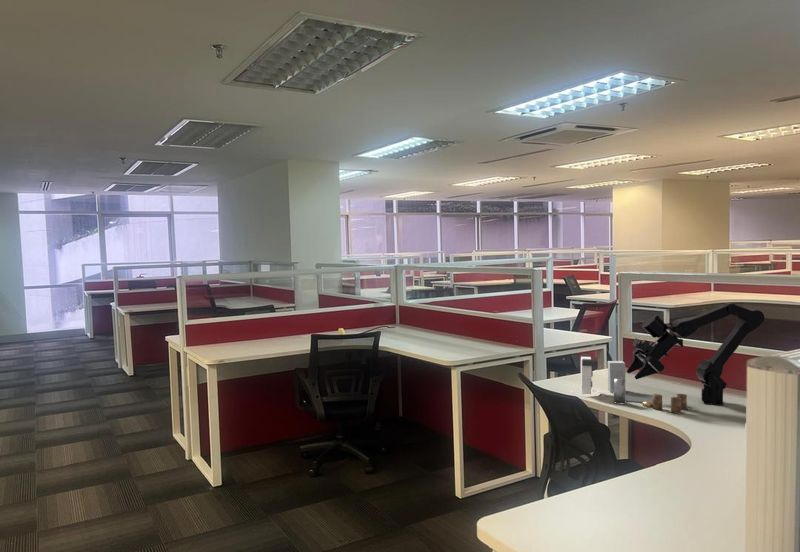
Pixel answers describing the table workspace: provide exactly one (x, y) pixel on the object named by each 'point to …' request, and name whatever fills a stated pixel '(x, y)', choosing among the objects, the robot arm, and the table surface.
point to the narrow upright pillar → (586, 374)
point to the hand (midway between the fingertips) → (631, 375)
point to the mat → (638, 397)
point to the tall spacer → (619, 390)
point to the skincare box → (615, 372)
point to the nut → (648, 403)
